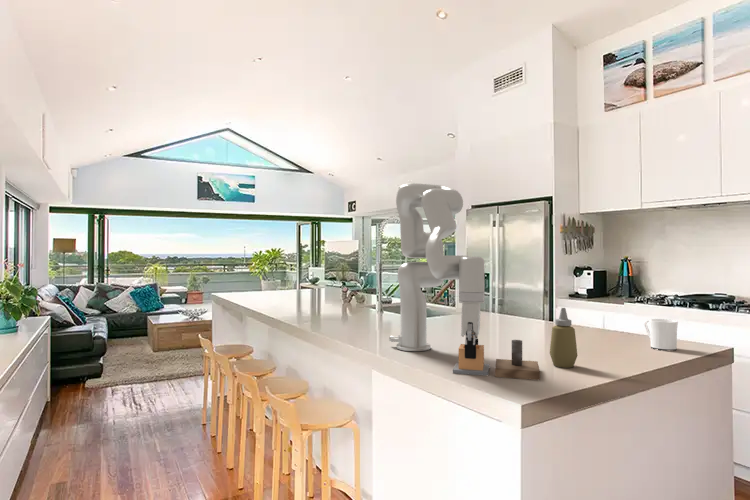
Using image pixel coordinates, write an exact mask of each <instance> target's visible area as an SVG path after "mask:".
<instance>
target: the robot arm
mask: <svg viewBox="0 0 750 500" xmlns="http://www.w3.org/2000/svg"><path fill="white" fill-rule="evenodd" d="M395 205H396V210H397V214H398V217H399V225H400V226H399V227H400V228H399V229H400V230H399V231H400V248H401V249H400V251H401V253H402V255H403V256H404V257H405V258H409V259H426V261H409V262H408V261H407V262H404V263H403V264H401V265H400V266H399V267H398V270H397V280H398V281H397V282H398V285H399V286H398V287H399V295H400V296H399V297H400V298H399V301H400V302H399V303H400V307H399V308H400V312H399V313H400V317H399V318H400V335H397V336H395V335H389V338H388V341H389V342H391V343H396V344H395V345H396V346H395V347H396V349H397V350H400V351H405V352H423V351H424V352H425V351H429V350H430V349H431V348H432V345H431V344H430V343H427V298H426V295H425V294H424V292H423V290H422V289H423V288H437V287H440V286H441V285H442V284H443V282H444V281H445V280H447V281H448V280H451V281H452V280H458V303H460V304H461V325H460V326H461V329H460V336H461V337H463V338H464V337H465V340H464V343H465V358H467V359H476V345H479V338H478V337H479V335H480V328H481V305H482V304H485V260H484V258H483V257H482V256H469V255H447V254H446V255H445V254H444V253H445V252H444V251H445V250H444V243H443V239H445V238H447V237H450V236H451V235H452V234H454V232H455V231H456V230H457V224H456V220H455V218H454V216H453V215H457V214H459V213H460V212H462V210H463V207H464V199H463V197H462V194H461V193H460V192H459V191H458V190H456V189H454V188H450V187H447V186H444V185H441V184H432V183H431V184H429V183H428V184H427V183H415V182H413V183H410V182H409V183H405V184H402V185H401V186H399V188H398V190H397V192H396V199H395ZM417 208H423V211H424V215H425V217H426V221H427V223H428V224H427V225H428V226H429V229H430V232H425V231H424V220H423V217H422V215H421V213H420V212H419V210H418V209H417Z"/></svg>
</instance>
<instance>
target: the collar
mask: <svg viewBox="0 0 750 500" xmlns="http://www.w3.org/2000/svg"><path fill="white" fill-rule="evenodd" d="M458 362H459V369H468V370H483V368H484V364H485V344H478V345H476V359H467V358H465V344H464V343H460V345H459V347H458Z"/></svg>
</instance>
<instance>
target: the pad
mask: <svg viewBox="0 0 750 500" xmlns="http://www.w3.org/2000/svg"><path fill="white" fill-rule="evenodd" d="M490 365H491V364H489V363H484V368H483V370H468V369H459V361H456V363H455V365H454V367H453V369H452V374H459V375H471V376H472V375H473V376H475V375H476V376H486V375H488V376H489V373H490V372H489V371H490V368H489V367H490Z"/></svg>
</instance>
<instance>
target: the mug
mask: <svg viewBox="0 0 750 500" xmlns="http://www.w3.org/2000/svg"><path fill="white" fill-rule="evenodd" d="M648 323H649V326H648ZM678 324H679V321H678V320H675V319H674V320H673V319H667V318H666V319H665V318H650V319H647V320H645V321H644V324H643V325H644V328H645V330H646V333H647V336H648V338H649V340H650V349H652V348H653V349H652V350H655V349H658V350H657V351H661V350H675V351H677V347H678V345H677V342H678V341H677V340H678V338H677V337H678ZM649 328H650V329H649Z"/></svg>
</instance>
